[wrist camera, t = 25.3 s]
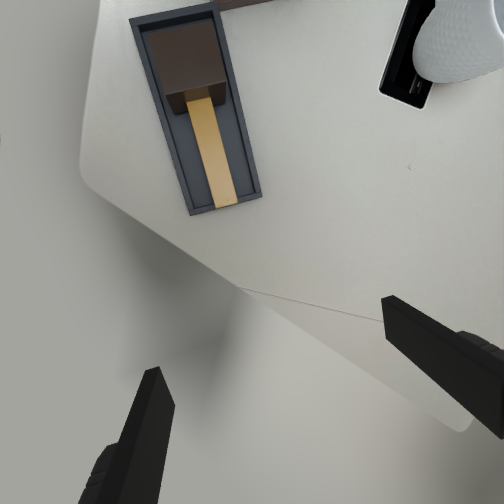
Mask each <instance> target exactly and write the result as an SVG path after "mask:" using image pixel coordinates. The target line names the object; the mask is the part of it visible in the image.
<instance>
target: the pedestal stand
mask: <svg viewBox="0 0 504 504" xmlns="http://www.w3.org/2000/svg"><path fill="white" fill-rule="evenodd" d="M210 1H211V2H214V1H217V3H218V7H219V11H223V10H228V9H233V8H238V7H243V6H247V5H252V4H257V3H262V2H267V1H271V0H210Z"/></svg>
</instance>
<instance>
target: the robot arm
mask: <svg viewBox="0 0 504 504" xmlns="http://www.w3.org/2000/svg"><path fill="white" fill-rule="evenodd" d="M381 303H382V311H383V319H384V327H385V335H386V339H387V340H388V341H389V342H390V343H391V344H393V345H394V346H395V347H396V348H397V349H398V350H399V351H401V352H402V353H403V354H404V355H405V356H406V357H407V358H409V359H410V360H411V361H412V362H413V363H414V364H415V365H416V366H418V367H419V368H420V369H421V370H422V371H423V372H424V373H426V374H427V375H428V376H429V377H430V378H431V379H432V380H434V381H435V382H436V383H437V384H438V385H439V386H440V387H442V388H443V389H444V390H445V391H446V392H447V393H448V394H449V395H451V396H452V397H453V398H454V399H455V400H456V401H457V402H459V403H460V404H461V405H462V406H463V407H464V408H465V409H467V410H468V411H469V412H470V413H471V414H472V415H473V416H475V417H476V418H477V419H478V420H479V421H480V422H482V424H484V425H485V426H486V427H487V428H488V429H489V430H490V431H492V432H493V433H494V434H495V435H496V436H497V437H498V438H500V439H501V440H502V439H504V350H500V348H499V347H497V346H495V345H493V344H490V343H489V342H488V341H486V340H484V339H483V338H481V337H479V336H477V335H474V334H471V333H468V332H465V331H460V332H457V333H456V332H454V331H452V330H451V329H449V328H447V327H446V326H444V325H442V324H441V323H439V322H437V321H436V320H434V319H432V318H431V317H429V316H427V315H426V314H424V313H422V312H421V311H419V310H417V309H416V308H414V307H412V306H411V305H409V304H407V303H406V302H404V301H402V300H401V299H399V298H397V297H396V296H394V295H392V296H388V297H385V298H382V299H381ZM174 409H175V404H174V401H173V399H172V396H171V394H170V391H169V389H168V387H167V384H166V382H165V380H164V377H163V374H162V372H161V369H160V367H159V366H158V367H155V368H152V369H149V370H146V371H145V373H144V375H143V378H142V380H141V383H140V386H139V388H138V391H137V394H136V396H135V399H134V402H133V404H132V407H131V410H130V412H129V415H128V417H127V420H126V423H125V425H124V428H123V431H122V433H121V436H120V439H119V441H118V442H117V443H114V444H111V445H108V446H107V447H106V448H105V449H104V451H103V452H102V453H101V455H100V456H99V457H98V459H97V461H96V463H95V465H94V467H93V470H92V472H91V476H90V477H89V479H88V482H87V484H86V488H85V489H84V491H83V493H82V495H81V498H80V500H79V502H78V504H157V503H158V498H159V493H160V487H161V481H162V475H163V470H164V465H165V459H166V454H167V448H168V443H169V437H170V431H171V426H172V420H173V415H174Z"/></svg>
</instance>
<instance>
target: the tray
mask: <svg viewBox="0 0 504 504" xmlns="http://www.w3.org/2000/svg"><path fill="white" fill-rule="evenodd" d="M210 21H212V24H213V28H214V32H215V36H216V40H217V44H218V48H219V52H220V56H221V60H222V64H223V68H224V72H225V76H226V80H227V85H226V103H223V104H219V105H214V106H213V109H214V113H215V116H216V120H217V124H218V128H219V132H220V135H221V139H222V143H223V147H224V151H225V154H226V158H227V162H228V166H229V170H230V173H231V177H232V181H233V185H234V189H235V192H236V196H237V200H238V203H241V202H245V201H249V200H253V199H256V198H260V197H262V193H261V188H260V184H259V180H258V175H257V171H256V167H255V162H254V158H253V154H252V149H251V145H250V141H249V136H248V132H247V128H246V124H245V119H244V115H243V111H242V106H241V102H240V98H239V93H238V89H237V85H236V80H235V76H234V72H233V68H232V63H231V59H230V55H229V50H228V46H227V42H226V37H225V33H224V29H223V24H222V20H221V16H220V12H219V7H218V3H217V1H214V2H209V3H204V4H199V5H194V6H190V7H185V8H180V9H175V10H170V11H165V12H160V13H155V14H150V15H145V16H141V17H136V18H131V19H129V22H130V25H131V29H132V32H133V35H134V38H135V41H136V45H137V48H138V51H139V54H140V57H141V60H142V64H143V67H144V70H145V73H146V76H147V80H148V83H149V86H150V89H151V92H152V96H153V99H154V102H155V105H156V108H157V112H158V115H159V118H160V121H161V124H162V128H163V131H164V134H165V137H166V140H167V144H168V147H169V150H170V153H171V156H172V160H173V163H174V166H175V169H176V172H177V176H178V179H179V182H180V185H181V188H182V192H183V195H184V198H185V201H186V204H187V207H188V210H189V214H190V216H192V215H196V214H200V213H203V212H207V211H211V210H215V209H216V207H215V204H214V200H213V196H212V193H211V189H210V186H209V182H208V179H207V175H206V171H205V168H204V164H203V161H202V157H201V154H200V150H199V147H198V143H197V139H196V136H195V132H194V129H193V125H192V122H191V118H190V114H189V112H184V113H180V114H176V115H174V114H173V111H172V109H171V107H170V105H169V103H168V101H167V99H166V97H165V95H164V92H163V89H162V85H161V82H160V78H159V75H158V72H157V68H156V65H155V61H154V58H153V55H152V51H151V48H150V44H149V41H148V37H147V34H152V33H157V32H162V31H167V30H171V29H176V28H181V27H186V26H191V25H195V24H200V23H205V22H210ZM236 204H237V203H236ZM232 205H234V204H232ZM228 206H230V205H228ZM224 207H226V206H224ZM221 208H222V207H221ZM217 209H219V208H217Z"/></svg>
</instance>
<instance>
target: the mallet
mask: <svg viewBox="0 0 504 504" xmlns="http://www.w3.org/2000/svg"><path fill="white" fill-rule="evenodd" d="M147 37H148V41H149V44H150V48H151V51H152V55H153V58H154V61H155V65H156V68H157V72H158V75H159V78H160V82H161V85H162V89H163V92H164V95H165V97H166V99H167V101H168V103H169V105H170V107H171V109H172V111H173V114H174V115H176V114H180V113H184V112H189V114H190V118H191V122H192V125H193V129H194V132H195V136H196V139H197V143H198V147H199V150H200V154H201V157H202V161H203V164H204V168H205V171H206V175H207V179H208V182H209V186H210V189H211V193H212V196H213V200H214V204H215V207H216V209H217V208H221V207H224V206H228V205H232V204H236V203H238V200H237V196H236V192H235V189H234V185H233V181H232V177H231V173H230V170H229V166H228V162H227V158H226V154H225V151H224V147H223V143H222V139H221V135H220V132H219V128H218V124H217V120H216V116H215V113H214V109H213V106H214V105H219V104H223V103H226V85H227V80H226V76H225V72H224V68H223V64H222V60H221V56H220V52H219V48H218V44H217V40H216V36H215V32H214V28H213V24H212V21H210V22H205V23H200V24H195V25H191V26H186V27H181V28H176V29H171V30H167V31H162V32H157V33H152V34H147Z"/></svg>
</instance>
